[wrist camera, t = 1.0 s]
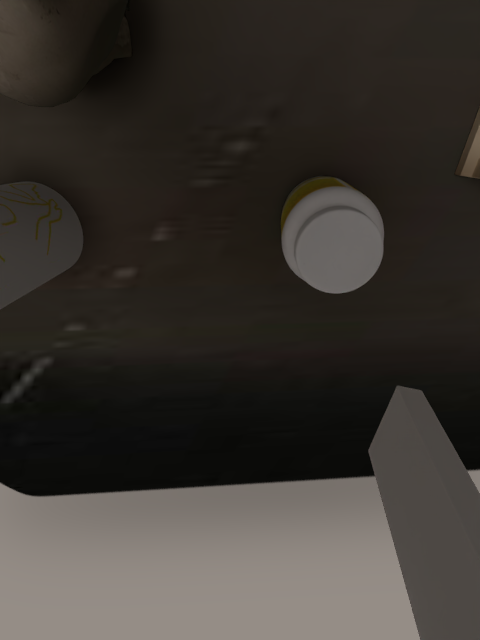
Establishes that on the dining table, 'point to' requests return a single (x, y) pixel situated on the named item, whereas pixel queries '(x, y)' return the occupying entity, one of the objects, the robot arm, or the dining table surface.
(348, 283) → the pill bottle
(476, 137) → the holder
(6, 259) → the white cylinder
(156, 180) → the dining table surface
